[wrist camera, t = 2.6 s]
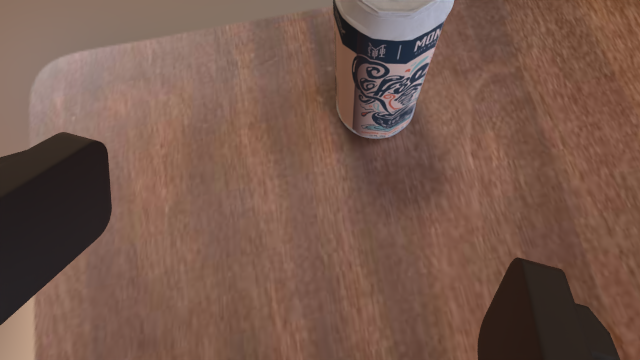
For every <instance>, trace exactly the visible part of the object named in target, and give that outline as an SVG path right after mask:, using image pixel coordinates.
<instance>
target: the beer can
mask: <svg viewBox="0 0 640 360" xmlns="http://www.w3.org/2000/svg"><path fill="white" fill-rule="evenodd" d="M453 3H454V0H333V9H334V44H335V80H336V105H337V111H338V114H339V117H340V118H341V120H342V122H343V123H344V124H345V125H346V127H347V128H349V129H350V130H351V131H352V132H354V133H356V134H358V135H360V136H362V137H366V138H373V139H382V138H386V137H390V136H392V135H395V134H397V133H398V132H400V131H401V130H402V129H404V128H405V127H406V126H407V125H408V124H409V122H410V121H411V119H412V117H413V114H414V111H415V106H416V101H417V99H418V96H419V93H420V90H421V87H422V84H423V82H424V79H425V76H426V73H427V70H428V67H429V65H430V62H431V59H432V56H433V53H434V50H435V48H436V45H437V42H438V39H439V36H440V33H441V30H442V28H443V25H444V22H445V19H446V17H447V15H448V14H449V12H450V11H451V9H452V6H453Z"/></svg>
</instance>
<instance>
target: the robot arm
mask: <svg viewBox="0 0 640 360" xmlns="http://www.w3.org/2000/svg"><path fill="white" fill-rule="evenodd" d="M111 210H112V205H111V191H110V177H109V163H108V152H107V149H106V147H105V145H104V144H103V143H101V142H99V141H96V140H92V139H88V138H85V137H81V136H77V135H74V134H70V133H66V132H62V133H58V134H56V135H54V136H52V137H50V138H48V139H47V140H45V141H43V142H41V143H39V144H37V145H35V146H33V147H32V148H30V149H28V150H25V151H22V152H18V153H15V154H11V155H7V156H4V157H0V325H1V324H3V323H4V322H5V321H6V320H7V319H8V318H9V317H10V316H11V315H13V314H14V313H15V312H16V311H17V310H18V309H19V308H20V307H21V306H23V305H24V304H25V303H26V302H27V301H28V300H29V299H30V298H32V297H33V296H34V295H35V294H36V293H37V292H38V291H39V290H40V289H42V288H43V287H44V286H45V285H46V284H47V283H48V282H49V281H51V280H52V279H53V278H54V277H55V276H56V275H57V274H58V273H59V272H61V271H62V270H63V269H64V268H65V267H66V266H67V265H68V264H70V263H71V262H72V261H73V260H74V259H75V258H76V257H77V256H78V255H80V254H81V253H82V252H83V251H84V250H85V249H86V248H87V247H88V246H90V245H91V244H92V243H93V242H94V241H95V240H96V239H97V238H98V237H99V236H100V235H101V234H102V233H103V232H104V230H105V229H106V227H107V225H108V222H109V220H110V216H111ZM478 360H620V358H619V355H618V353H617V350H616V348H615V345H614V343H613V340H612V338H611V335H610V333H609V332H608V331H607V329H606V328H605V327H604V326H603V325H602V323H601V322H600V321H599V320H598V318H597V317H596V316H595V315H594V314H593V312H592V311H591V310H590V309H589V308H588V307H587V306H583V305H580V304H576V303H575V302H574V299H573V296H572V293H571V291H570V288H569V285H568V282H567V279H566V276H565V273H564V272H563V270H561V269H558V268H555V267H551V266H547V265H544V264H540V263H536V262H533V261H529V260H526V259H522V258H518V257H517V258H515V259H514V260H513V261H512V262H511V264H510V265H509V267H508V269H507V271H506V273H505V275H504V277H503V279H502V282H501V284H500V286H499V288H498V290H497V292H496V294H495V296H494V298H493V300H492V302H491V304H490V306H489V308H488V310H487V312H486V315H485V317H484V319H483V322H482V325H481V328H480V333H479V338H478Z"/></svg>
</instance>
